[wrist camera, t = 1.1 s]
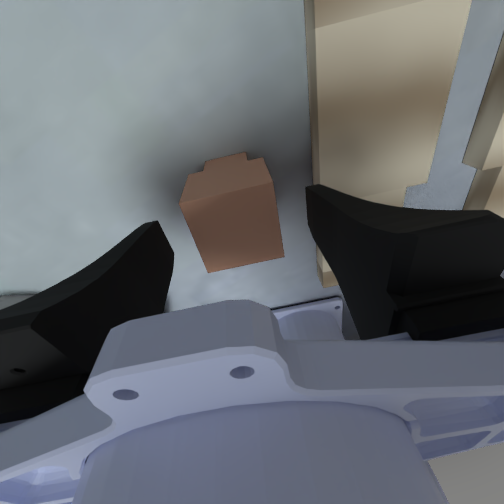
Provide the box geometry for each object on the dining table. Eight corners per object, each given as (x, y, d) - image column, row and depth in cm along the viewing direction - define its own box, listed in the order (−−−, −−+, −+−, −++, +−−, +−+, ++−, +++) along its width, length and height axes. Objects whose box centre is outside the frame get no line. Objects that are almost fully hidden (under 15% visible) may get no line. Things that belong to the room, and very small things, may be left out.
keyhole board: (514, 234, 20) (534, 246, 18) (317, 275, 21) (323, 288, 19) (735, -170, 9) (821, -210, 8) (301, -50, 10) (313, -68, 8)
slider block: (269, 209, 17) (284, 256, 12) (212, 222, 17) (208, 273, 13) (259, 148, 14) (273, 181, 10) (192, 164, 14) (178, 203, 10)
